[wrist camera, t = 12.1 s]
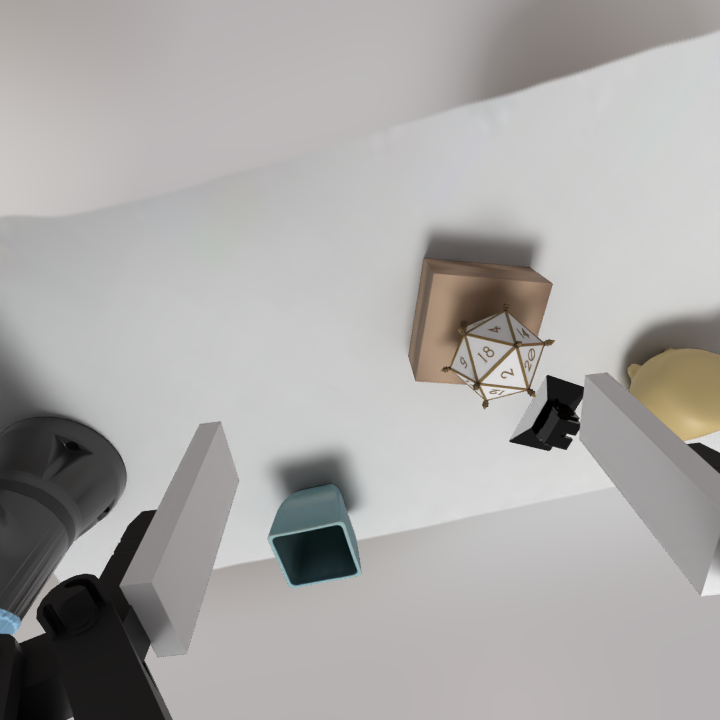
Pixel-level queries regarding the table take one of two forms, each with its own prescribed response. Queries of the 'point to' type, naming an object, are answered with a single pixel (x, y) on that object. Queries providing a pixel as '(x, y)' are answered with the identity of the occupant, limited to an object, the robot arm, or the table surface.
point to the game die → (497, 356)
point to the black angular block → (550, 416)
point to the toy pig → (680, 390)
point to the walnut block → (467, 308)
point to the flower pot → (314, 538)
